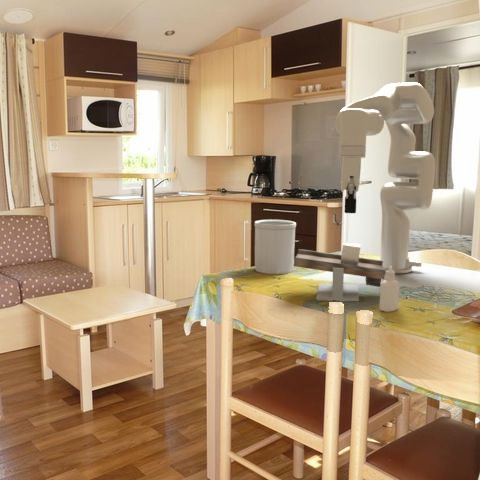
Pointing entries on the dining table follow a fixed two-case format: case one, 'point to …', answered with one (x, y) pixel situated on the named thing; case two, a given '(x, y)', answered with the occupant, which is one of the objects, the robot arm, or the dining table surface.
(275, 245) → the utensil holder
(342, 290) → the fulcrum
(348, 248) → the rider
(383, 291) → the eye dropper bottle
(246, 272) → the dining table surface
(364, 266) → the beam
